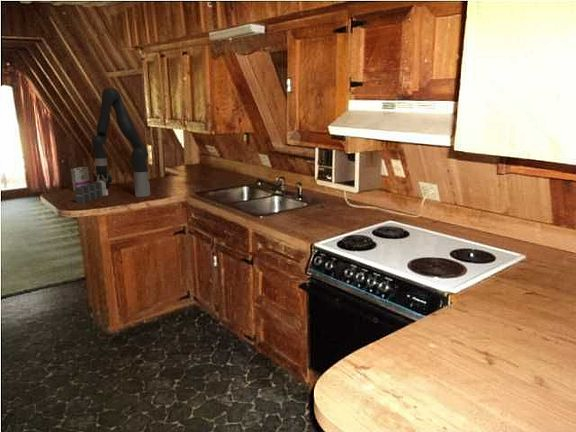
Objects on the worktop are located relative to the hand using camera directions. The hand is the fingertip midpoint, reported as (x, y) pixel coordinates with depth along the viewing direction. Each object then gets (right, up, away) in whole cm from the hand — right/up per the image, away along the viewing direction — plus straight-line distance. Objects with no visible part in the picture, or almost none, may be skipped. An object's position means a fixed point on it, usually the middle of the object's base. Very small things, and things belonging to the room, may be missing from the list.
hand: (103, 188), depth 317 cm
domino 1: (-6, -11, -21) cm, 24 cm away
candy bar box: (-21, -1, +14) cm, 26 cm away
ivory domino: (0, -4, +1) cm, 5 cm away
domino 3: (-3, -8, -10) cm, 13 cm away
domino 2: (-5, -9, -15) cm, 19 cm away
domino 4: (-2, -6, -4) cm, 8 cm away
